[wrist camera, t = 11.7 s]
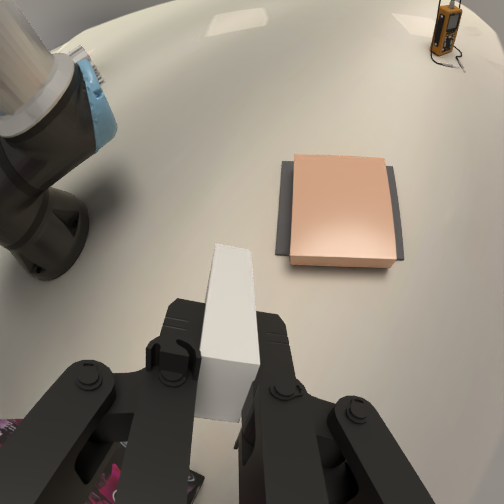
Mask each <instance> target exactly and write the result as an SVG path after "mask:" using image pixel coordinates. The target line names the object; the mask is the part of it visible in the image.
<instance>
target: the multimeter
mask: <svg viewBox="0 0 504 504" xmlns="http://www.w3.org/2000/svg"><path fill="white" fill-rule="evenodd" d="M440 1H441V0H439V6H438V13H437V19H436V24H435V29H434V34H433V38H432V43H431V47H430V50H431V58H432V52H434V53H435V54H437V55H439V56H441V55H442V54H445V53H448V52H451V51H452V50H453V46H454V42H455V39H456V35H457V31H458V27H459V23H460V19H461V15H462V9H460V4H461V0H460V4H459V8H458V7H456V6H454V1H455V0H451V2H450V5H446V6H440ZM452 1H453V2H452ZM454 47H455V46H454ZM455 48H456V47H455ZM456 49H457V48H456ZM457 50H459V49H457ZM459 51H460V50H459ZM460 53H461V51H460ZM461 56H462V53H461ZM461 56H456V58H457V57H461ZM432 60H433V58H432ZM457 60H458V58H457ZM433 61H434V60H433ZM434 62H435V61H434ZM458 62H459V64H460V65H461V67H462V68H463V69H464V67H463V65H462V64H461V62H460V61H459V60H458ZM435 63H437V62H435ZM437 64H441V63H437ZM441 65H444V66H450V67H457V66H453V65H450V64H441ZM458 68H460V67H458ZM464 71H465V70H464ZM465 72H466V71H465Z"/></svg>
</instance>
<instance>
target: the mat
mask: <svg viewBox="0 0 504 504" xmlns="http://www.w3.org/2000/svg"><path fill="white" fill-rule="evenodd" d="M386 170H387V177H388V183H389V190H390V197H391V205H392V213H393V222H394V232H395V243H396V255H397V259H396V260H404V250H403V238H402V228H401V219H400V211H399V203H398V196H397V189H396V183H395V176H394V170H393V166H386ZM293 178H294V161H282V172H281V187H280V201H279V215H278V228H277V241H276V255H290V246H291V226H292V204H293Z"/></svg>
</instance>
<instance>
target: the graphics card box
mask: <svg viewBox="0 0 504 504" xmlns="http://www.w3.org/2000/svg"><path fill="white" fill-rule="evenodd" d="M22 420H23V419H0V447H1V446H2V445H3V443H4V442H5V441H6V440H7V438H8V437H9V436H10V435H11V433H12V432H13V431H14V430H15V429H16V427H17V426H18V425H19V424H20V422H21V421H22ZM126 445H127V442H120V444H119V445H118V447H117V449H116V450H115V452H114V454H113V455H112V457H111V459H110V460H109V462H108V464H107V466H106V467H105V469H104V471H103V472H102V474H101V476H100V478H99V479H98V481H97V483H96V484H95V486H94V488H93V490H92V491H91V493H90V495H89V496H88V498H87V500H86V502H85V503H84V504H114V502H115V497H116V492H117V487H118V482H119V477H120V472H121V468H122V463H123V458H124V454H125V450H126ZM203 480H204V476H202V475H200V474H198V473H195V472H194V471H191V470H189V477H188V490H187V504H193V501H194V499H195V497H196V495H197V493H198V491H199V489H200V487H201V485H202V483H203Z"/></svg>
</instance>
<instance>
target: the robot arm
mask: <svg viewBox="0 0 504 504" xmlns="http://www.w3.org/2000/svg"><path fill="white" fill-rule="evenodd" d="M116 132H117V123H116V120H115V118H114V115H113V113H112V111H111V108H110V106H109V104H108V102H107V99H106V97H105V95H104V93H103V91H102V88H101V86H100V84H99V81H98V79H97V77H96V74H95V72H94V70H93V68H92V66H91V64H90V62H89V60H88V59H83V60H81V61H77V62H76V63H74V61H73V60H72V58H71V57H70V56H69V55H67V54H64V53H55V54H51V53H50V52H49V50H48V49H47V47H46V46H45V45H44V43H43V42H42V40H41V39H40V37H39V36H38V35H37V33H36V32H35V30H34V29H33V27H32V26H31V25H30V23H29V22H28V20H27V19H26V17H25V16H24V14H23V13H22V11H21V10H20V8H19V7H18V6H17V4H16V3H15V1H14V0H0V245H1V246H3V247H4V248H6V249H8V250H9V251H10V252H11V253H12V255H13V256H14V257H15V258H16V260H17V261H18V262H19V263H20V265H21V266H22V267H23V268H24V269H25V271H26V272H28V273H29V274H30V275H32V276H34V277H36V278H38V279H41V280H51V279H54V278H57V277H59V276H60V275H62V274H63V273H64V272H66V271H67V270H68V269H69V268H70V267H71V265H72V264H73V263H74V262H75V260H76V259H77V257H78V256H79V254H80V252H81V250H82V248H83V246H84V243H85V241H86V237H87V233H88V227H89V217H88V212H87V209H86V207H85V206H84V204H83V203H82V202H81V201H80V200H79V199H77V198H76V197H75V196H74V195H72V194H70V193H67V192H65V191H62V190H59V189H56V188H53V187H50V186H52V185H53V184H54V183H56V182H57V181H58V180H59V179H61V178H62V177H63V176H65V175H66V174H67V173H68V172H70V171H71V170H72V169H74V168H75V167H77V166H78V165H79V164H81V163H82V162H83V161H85V160H86V159H88V158H89V157H90V156H92V155H93V154H95V153H97V152H98V150H99V149H100V148H101V147H103V146H104V145H105V144H106V143H108V142H109V141H110V140H112V139H113V138H114V136H115V134H116ZM241 415H242V428H241V430H240V433H239V435H238V437H237V440H236V442H235V445H234V449H238V452H239V504H435V502H434V501H433V499H432V498H431V496H430V494H429V493H428V491H427V489H426V488H425V486H424V485H423V483H422V481H421V480H420V478H419V477H418V475H417V473H416V472H415V470H414V469H413V467H412V465H411V464H410V462H409V461H408V459H407V458H406V456H405V454H404V453H403V451H402V450H401V448H400V446H399V445H398V443H397V442H396V440H395V439H394V437H393V435H392V434H391V432H390V431H389V429H388V428H387V426H386V425H385V423H384V421H383V420H382V418H381V417H380V415H379V414H378V412H377V411H376V409H375V408H374V407H373V406H372V404H371V403H370V402H368V401H367V400H365V399H363V398H361V397H357V396H345V397H343V398H340V399H339V400H338V402H337V403H336V404H335V403H331V402H328V401H325V400H321V399H318V398H316V397H313V396H311V395H310V394H308V393H307V391H306V389H305V387H304V385H303V384H302V383H301V382H300V381H299V380H298V379H296V377H295V372H294V366H293V361H292V356H291V351H290V346H289V340H288V337H287V330H286V325H285V323H284V322H283V321H282V319H281V318H280V317H279V315H278V314H271V313H265V312H259V311H256V307H255V294H254V282H253V269H252V257H251V250H249V249H244V248H238V247H233V246H228V245H223V244H217V243H216V245H215V250H214V255H213V260H212V265H211V271H210V276H209V281H208V287H207V292H206V298H205V303H200V302H195V301H189V300H184V299H179V298H177V299H176V300H175V301H174V302H172V303H171V304H170V305H169V306H168V310H167V313H166V317H165V319H164V323H163V326H162V329H161V333H160V336H159V337H157V338H155V339H153V340H152V341H150V342H149V344H148V346H147V347H146V367H145V368H143V369H142V370H139V371H136V372H131V373H112V372H111V370H110V368H109V367H107V366H106V365H104V364H103V363H101V362H98V361H95V360H82V361H78V362H75V363H73V364H72V365H71V366H69V367H68V368H67V369H66V370H65V371H64V373H63V374H62V375H61V376H60V377H59V378H58V379H57V380H56V382H55V383H54V384H53V385H52V386H51V387H50V388H49V390H48V391H47V392H46V393H45V394H44V395H43V396H42V398H41V399H40V400H39V401H38V402H37V403H36V405H35V406H34V407H33V408H32V409H31V411H30V412H29V413H28V414H27V415H26V416H25V418H24V419H23V420H22V421H21V422H20V424H19V425H18V426H17V427H16V429H15V430H14V431H13V432H12V433H11V435H10V436H9V437H8V438H7V440H6V441H5V442H4V443H3V445H2V446H1V447H0V504H84V503H85V502H86V500H87V498H88V496H89V495H90V493H91V491H92V490H93V488H94V486H95V484H96V483H97V481H98V479H99V478H100V476H101V474H102V472H103V471H104V469H105V467H106V466H107V464H108V462H109V460H110V459H111V457H112V455H113V454H114V452H115V450H116V449H117V447H118V445H119V444H120V442H127V445H126V450H125V454H124V458H123V463H122V468H121V472H120V477H119V482H118V487H117V492H116V497H115V502H114V504H187V490H188V477H189V465H190V453H191V442H192V432H193V421H194V417H199V418H205V419H213V420H220V421H229V422H238V423H239V420H240V417H241Z"/></svg>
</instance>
